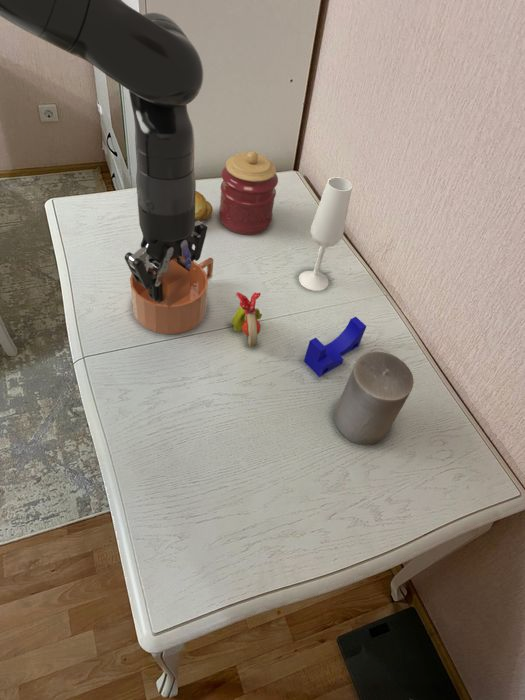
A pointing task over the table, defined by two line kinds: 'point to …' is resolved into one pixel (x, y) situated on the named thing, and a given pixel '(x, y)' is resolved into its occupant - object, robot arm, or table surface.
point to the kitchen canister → (247, 193)
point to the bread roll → (202, 207)
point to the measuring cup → (180, 313)
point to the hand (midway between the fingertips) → (169, 291)
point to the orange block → (175, 283)
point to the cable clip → (334, 348)
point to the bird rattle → (248, 318)
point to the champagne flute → (328, 227)
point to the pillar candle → (373, 397)
